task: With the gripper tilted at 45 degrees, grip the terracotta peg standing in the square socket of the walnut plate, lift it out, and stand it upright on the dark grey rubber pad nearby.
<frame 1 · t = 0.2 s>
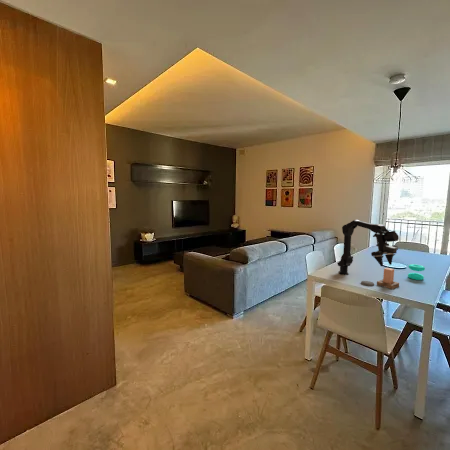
hand: (386, 265, 177), 15 cm above the table, tool tilted 15°, fingers open, 9 cm apart
donuts: (415, 278, 197), on the table
socket plate: (387, 285, 181), on the table
pad: (367, 284, 184), on the table
peg: (388, 277, 180), in the socket plate
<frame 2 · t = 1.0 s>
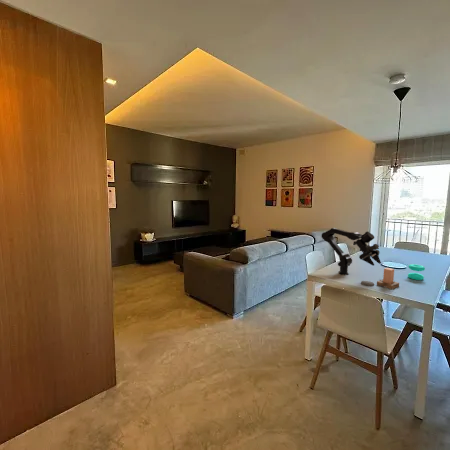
hand: (377, 264, 186), 13 cm above the table, tool tilted 45°, fingers open, 9 cm apart
nothing on the table moved.
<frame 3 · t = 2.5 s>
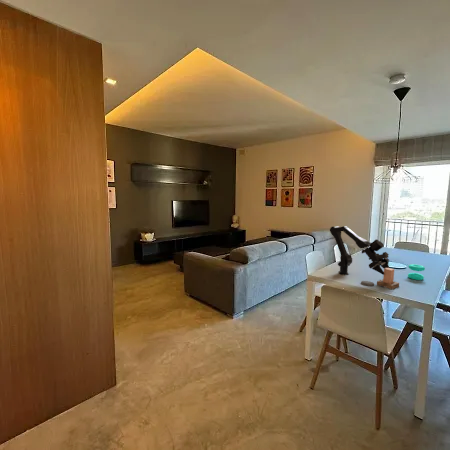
hand: (387, 273, 181), 9 cm above the table, tool tilted 45°, fingers open, 9 cm apart
nothing on the table moved.
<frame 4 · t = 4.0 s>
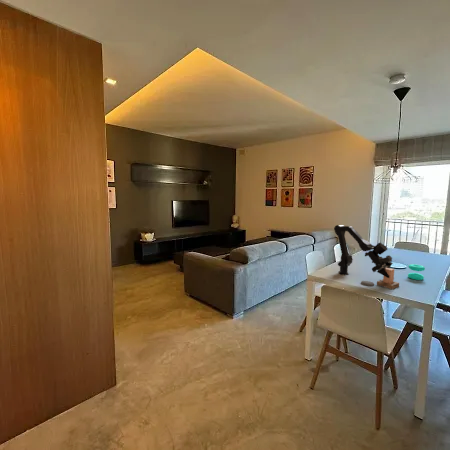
hand: (390, 277, 179), 7 cm above the table, tool tilted 45°, fingers closed on peg, 5 cm apart
peg: (388, 277, 180), in the socket plate, touching gripper
everything else where it was.
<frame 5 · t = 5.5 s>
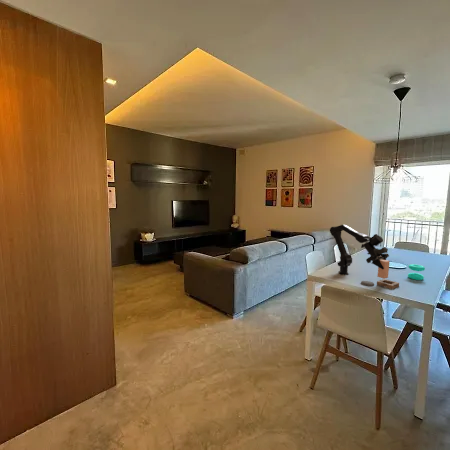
hand: (385, 268, 179), 12 cm above the table, tool tilted 45°, fingers closed on peg, 5 cm apart
peg: (383, 268, 180), point 12 cm above the table, touching gripper
everything else where it was.
when the fingers open (8 cm above the table, at t = 7.5 s): peg stays where it is, resting on pad.
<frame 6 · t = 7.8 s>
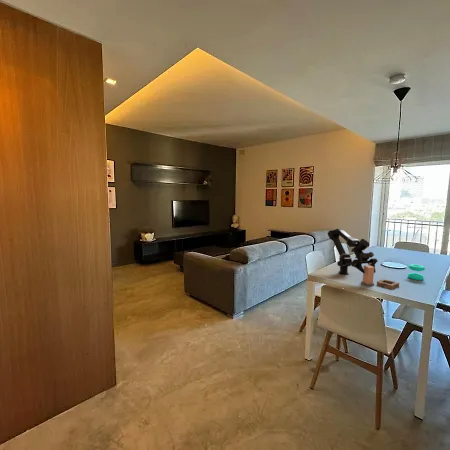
hand: (369, 272, 182), 9 cm above the table, tool tilted 45°, fingers open, 8 cm apart
peg: (368, 274, 183), on the pad, point 7 cm above the table
everything else where it was.
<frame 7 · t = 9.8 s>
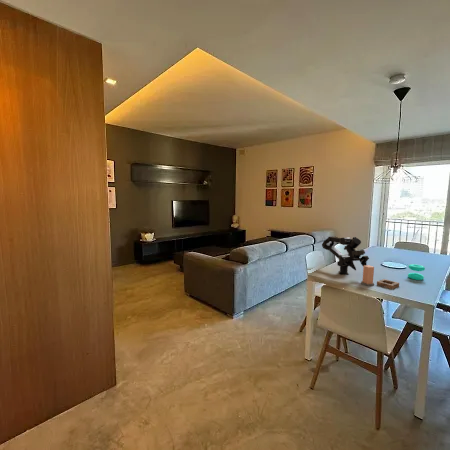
hand: (361, 269, 190), 8 cm above the table, tool tilted 45°, fingers open, 9 cm apart
nothing on the table moved.
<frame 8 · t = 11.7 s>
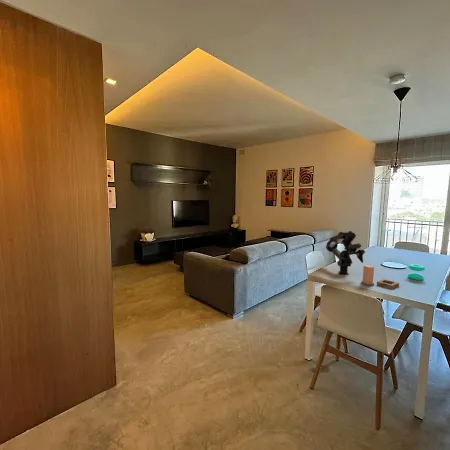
hand: (357, 262, 193), 13 cm above the table, tool tilted 45°, fingers open, 9 cm apart
nothing on the table moved.
at the end: peg 0.1 cm off-centre on the pad, point 7.0 cm above the pad's base; peg tilted 0°; the gripper is holding nothing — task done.
